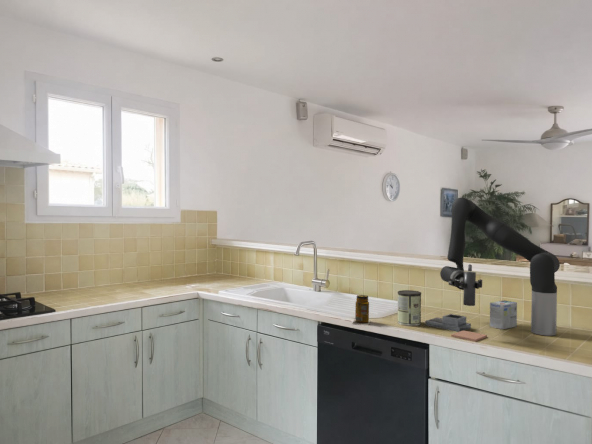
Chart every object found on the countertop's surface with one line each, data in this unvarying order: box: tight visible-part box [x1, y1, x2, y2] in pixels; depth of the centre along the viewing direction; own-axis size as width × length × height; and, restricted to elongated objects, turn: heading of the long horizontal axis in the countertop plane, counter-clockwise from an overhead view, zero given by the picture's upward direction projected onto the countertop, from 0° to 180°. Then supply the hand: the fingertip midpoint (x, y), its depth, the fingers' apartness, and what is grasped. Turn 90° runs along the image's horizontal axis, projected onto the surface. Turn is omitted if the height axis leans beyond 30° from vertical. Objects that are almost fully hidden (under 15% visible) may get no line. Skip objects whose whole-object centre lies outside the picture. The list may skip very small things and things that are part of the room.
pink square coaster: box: [450, 330, 488, 342], centre depth 182 cm, size 10×10×1 cm
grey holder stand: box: [424, 313, 472, 333], centre depth 199 cm, size 10×16×5 cm, turn 43°
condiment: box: [352, 294, 371, 326], centre depth 205 cm, size 7×8×12 cm
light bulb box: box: [489, 299, 518, 331], centre depth 200 cm, size 11×7×11 cm, turn 123°
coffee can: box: [397, 289, 422, 327], centre depth 205 cm, size 10×10×14 cm
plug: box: [462, 263, 477, 307], centre depth 182 cm, size 4×4×16 cm
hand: (471, 285), depth 180 cm, fingers closed on plug, 4 cm apart
